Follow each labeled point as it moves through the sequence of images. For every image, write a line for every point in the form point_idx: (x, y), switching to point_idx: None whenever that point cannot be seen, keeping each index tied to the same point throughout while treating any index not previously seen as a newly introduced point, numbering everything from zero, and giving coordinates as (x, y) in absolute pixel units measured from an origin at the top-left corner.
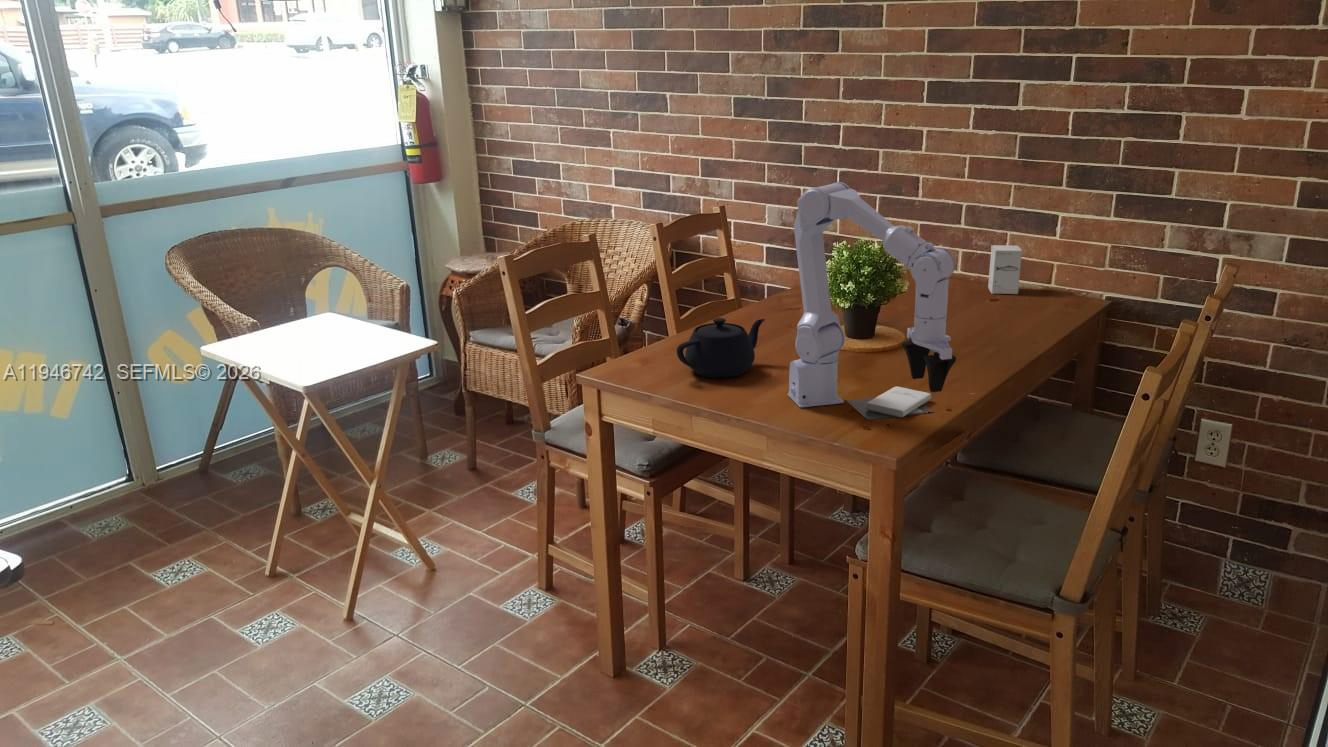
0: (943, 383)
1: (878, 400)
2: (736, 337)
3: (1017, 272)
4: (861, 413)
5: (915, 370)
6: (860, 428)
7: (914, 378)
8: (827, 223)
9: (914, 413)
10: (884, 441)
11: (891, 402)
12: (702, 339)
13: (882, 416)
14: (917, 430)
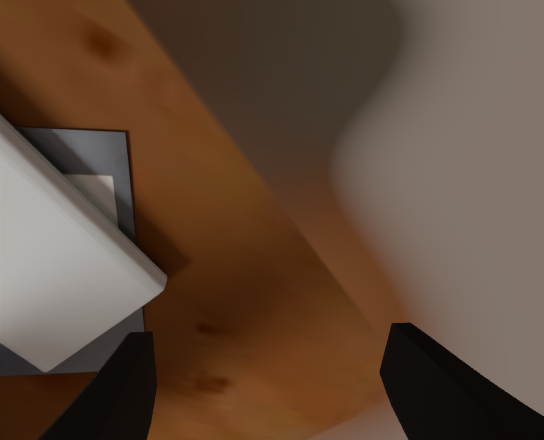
0: (450, 356)
1: (24, 332)
2: None
3: None
4: (89, 370)
5: (142, 433)
6: (210, 398)
7: (154, 382)
8: None
9: (124, 214)
10: (319, 372)
11: (55, 297)
12: None
13: (132, 324)
14: (280, 267)
